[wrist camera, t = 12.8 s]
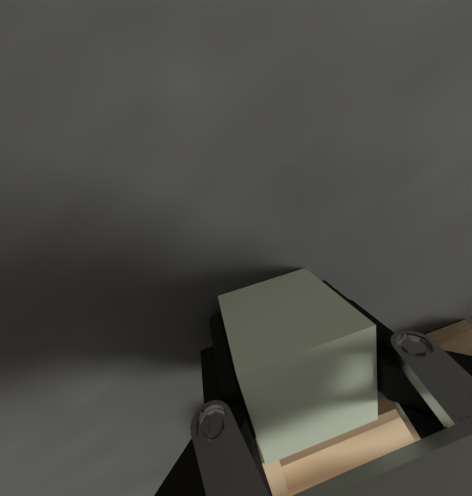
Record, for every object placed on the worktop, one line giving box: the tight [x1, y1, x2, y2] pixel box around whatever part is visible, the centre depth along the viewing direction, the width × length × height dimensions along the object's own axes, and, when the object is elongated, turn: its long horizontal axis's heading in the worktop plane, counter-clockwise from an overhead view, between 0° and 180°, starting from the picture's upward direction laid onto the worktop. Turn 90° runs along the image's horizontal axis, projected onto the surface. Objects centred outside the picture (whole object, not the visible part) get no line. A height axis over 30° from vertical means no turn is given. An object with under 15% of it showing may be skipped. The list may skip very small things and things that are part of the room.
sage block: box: [218, 268, 378, 465], centre depth 10 cm, size 4×4×4 cm
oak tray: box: [255, 320, 472, 496], centre depth 16 cm, size 20×15×3 cm
